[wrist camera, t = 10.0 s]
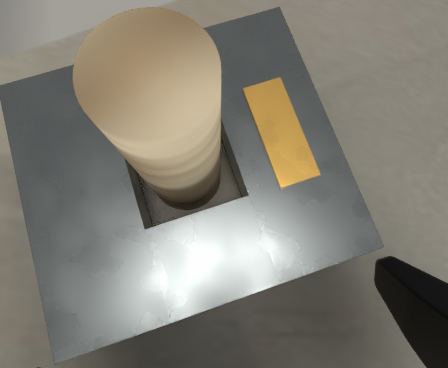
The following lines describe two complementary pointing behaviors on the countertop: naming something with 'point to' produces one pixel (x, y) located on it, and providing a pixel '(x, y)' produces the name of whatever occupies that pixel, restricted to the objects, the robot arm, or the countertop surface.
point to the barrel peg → (156, 99)
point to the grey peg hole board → (192, 224)
